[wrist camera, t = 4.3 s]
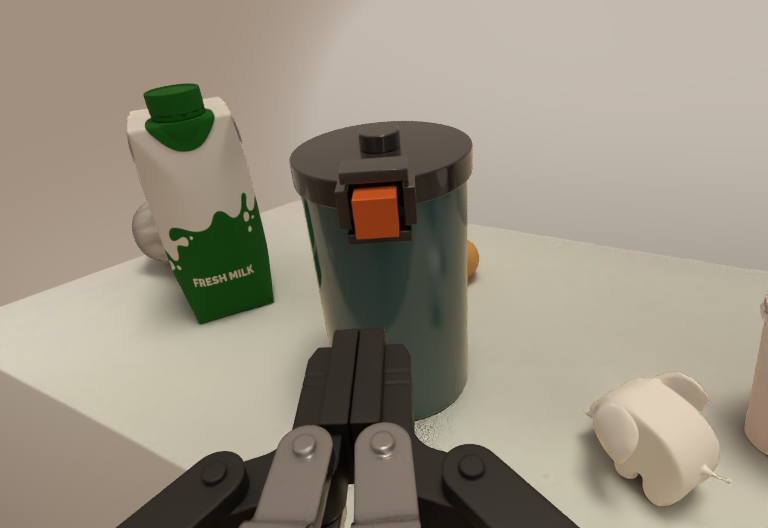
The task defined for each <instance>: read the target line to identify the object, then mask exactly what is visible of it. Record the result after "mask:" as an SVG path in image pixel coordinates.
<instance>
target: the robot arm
mask: <svg viewBox="0 0 768 528" xmlns="http://www.w3.org/2000/svg"><path fill="white" fill-rule="evenodd" d="M348 484H354V522H352V524H351V528H579V527H578V526H577V525H576V524H575V523H574V522H573V521H571V520H570V519H569V518H568V517H567V516H566V515H564V514H563V513H562V512H561V511H560V510H559V509H557V508H556V507H555V506H554V505H553V504H552V503H551V502H549V501H548V500H547V499H546V498H545V497H544V496H542V495H541V494H540V493H539V492H538V491H537V490H536V489H534V488H533V487H532V486H531V485H530V484H529V483H527V482H526V481H525V480H524V479H523V478H522V477H521V476H519V475H518V474H517V473H516V472H515V471H514V470H512V469H511V468H510V467H509V466H508V465H507V464H506V463H504V462H503V461H502V460H501V459H500V458H499V457H497V456H496V455H495V454H494V453H493V452H491V451H490V450H489V449H487V448H485V447H482V446H480V445H475V444H464V445H460V446H457V447H455V448H453V449H452V450H450V451H449V452H448V453H447V452H444V451H440V450H436V449H433V448H431V447H429V446H427V445H425V444H424V443H422V442H421V441H420V440H419V439H418V438H417V436H416V435H415V433H414V396H413V381H412V369H411V357H410V354H409V352H408V351H407V349H406V348H405V346H404V344H388V345H387V336H386V329H385V327H381V328H362V329H361V330H360V329H344V330H335V332H334V336H333V342H332V347H328V348H318V349H317V350H316V351H315V353H314V354H313V355H312V356H311V358H310V359H309V360H308V364H307V369H306V373H305V377H304V382H303V388H302V390H301V394H300V399H299V403H298V407H297V412H296V416H295V420H294V425H293V428H292V431H290V432H289V433H287V434H286V435H285V436H284V437H283V438H282V440H281V441H280V443H279V445H278V448H277V449H276V450H274V451H272V452H270V453H268V454H266V455H263V456H260V457H257V458H254V459H251V460H248V461H245V462H243V460H242V458H241V457H240V456H239V455H237V454H236V453H233V452H229V451H221V452H216V453H213V454H210V455H208V456H206V457H204V458H203V459H201V460H200V461H199V462H197V463H196V464H195V465H194V466H192V467H191V468H190V469H189V470H187V471H186V472H185V473H184V474H182V475H181V476H180V477H179V478H177V479H176V480H175V481H174V482H172V483H171V484H170V485H169V486H167V487H166V488H165V489H164V490H163V491H161V492H160V493H159V494H158V495H156V496H155V497H154V498H152V499H151V500H150V501H149V502H148V503H146V504H145V505H144V506H142V507H141V508H140V509H139V510H137V511H136V512H135V513H134V514H132V515H131V516H130V517H129V518H127V519H126V520H125V521H124V522H122V523H121V524H120V525H119V526H117V527H116V528H344V526H345V521H346V515H347V507H346V501H347V491H348Z"/></svg>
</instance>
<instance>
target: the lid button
mask: <svg viewBox="0 0 768 528" xmlns="http://www.w3.org/2000/svg"><path fill="white" fill-rule="evenodd" d="M351 202H352V209H353V217H354V224H355V232H356V239H371V238H386V237H399V215H398V203H397V191H396V186H386V187H372V188H358V189H354V191H353V196H352V201H351Z"/></svg>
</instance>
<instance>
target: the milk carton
mask: <svg viewBox="0 0 768 528" xmlns="http://www.w3.org/2000/svg"><path fill="white" fill-rule="evenodd" d="M144 98H145V102H146V105H147V108H148V109H142V110H136V111H131V112H130V115H129V116H128V117H127V138H128V144H129V149H130V152H131V155H132V158H133V161H134V163H135V165H136V168H137V172H138V176H139V180H140V183H141V186H142V189H143V192H144V195H145V197H146V200H147V203H148V206H149V208H150V211H151V214H152V217H153V219H154V222H155V225H156V228H157V230H158V233H159V236H160V239H161V241H162V244H163V247H164V250H165V252H166V255H167V258H168V260H169V263H170V266H171V268H172V271H173V273H174V275H175V277H176V279H177V281H178V283H179V285H180V287H181V289H182V291H183V293H184V295H185V297H186V299H187V300H188V302H189V304H190V306H191V308H192V310H193V312H194V314H195V316H196V318H197V320H198V322H199V324H201V323H204V322H208V321H211V320H214V319H218V318H221V317H225V316H228V315H231V314H235V313H238V312H241V311H245V310H248V309H251V308H255V307H258V306H261V305H265V304H268V303H272V302H274V299H273V291H272V282H271V273H270V264H269V256H268V249H267V244H266V239H265V234H264V230H263V226H262V222H261V218H260V214H259V209H258V206H257V201H256V197H255V193H254V189H253V185H252V181H251V176H250V172H249V169H248V165H247V161H246V158H245V155H244V152H243V149H242V146H241V143H242V140H241V136H240V133H239V130H238V128H237V125H236V123H235V121H234V119H233V117H232V114H231V113H230V111H229V109H228V108H227V105H226V104H225V102H224V101H223V100H221V98H220V97H213V98H207V99H202V96H201V92H200V89H199V86H198V85H197V84H176V85H170V86H164V87H160V88H155V89H152V90H149V91H147V92H145V93H144ZM240 142H241V143H240Z"/></svg>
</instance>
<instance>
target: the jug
mask: <svg viewBox="0 0 768 528" xmlns="http://www.w3.org/2000/svg"><path fill="white" fill-rule="evenodd" d="M472 147H473V146H472V141H471V139H470V137H469V136H468V135H467V134H466V133H464V132H462V131H461V130H458V129H456V128H453V127H450V126H446V125H442V124H436V123H429V122H417V121H391V122H378V123H369V124H362V125H356V126H351V127H346V128H342V129H338V130H334V131H331V132H328V133H325V134H322V135H319V136H317V137H314V138H312V139H310V140H308V141H306V142H305V143H303V144H301V145H300V146H298V147H297V148H296V149H295V150H294V151H293V152H292V154H291V156H290V167H291V173H292V178H293V183H294V187H295V189H296V191H297V192H298V193H299V195H300V196H301V198H302V203H303V208H304V213H305V219H306V224H307V229H308V235H309V240H310V245H311V251H312V256H313V261H314V266H315V272H316V277H317V282H318V288H319V293H320V298H321V304H322V309H323V314H324V319H325V325H326V330H327V335H328V341H329V346H330V347H332V342H333V336H334V332H335V330H344V329H360V330H361V329H362V328H381V327H385V329H386V336H387V345H388V344H404V346H405V348H406V349H407V351H408V352H409V354H410V357H411V369H412V381H413V396H414V420H420V419H423V418H426V417H429V416H432V415H434V414H436V413H438V412H440V411H442V410H444V409H445V408H447V407H448V406H449V405H450V404H452V403H453V402H454V401H455V400H456V399H457V398H458V396H459V395H460V394H461V392H462V390H463V388H464V386H465V384H466V380H467V374H468V350H467V180H468V179H469V177H470V175H471V173H472V150H473V148H472ZM386 186H396V191H397V203H398V215H399V237H386V238H371V239H356V232H355V224H354V217H353V209H352V202H351V201H352V196H353V191H354V189H358V188H372V187H386Z"/></svg>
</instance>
